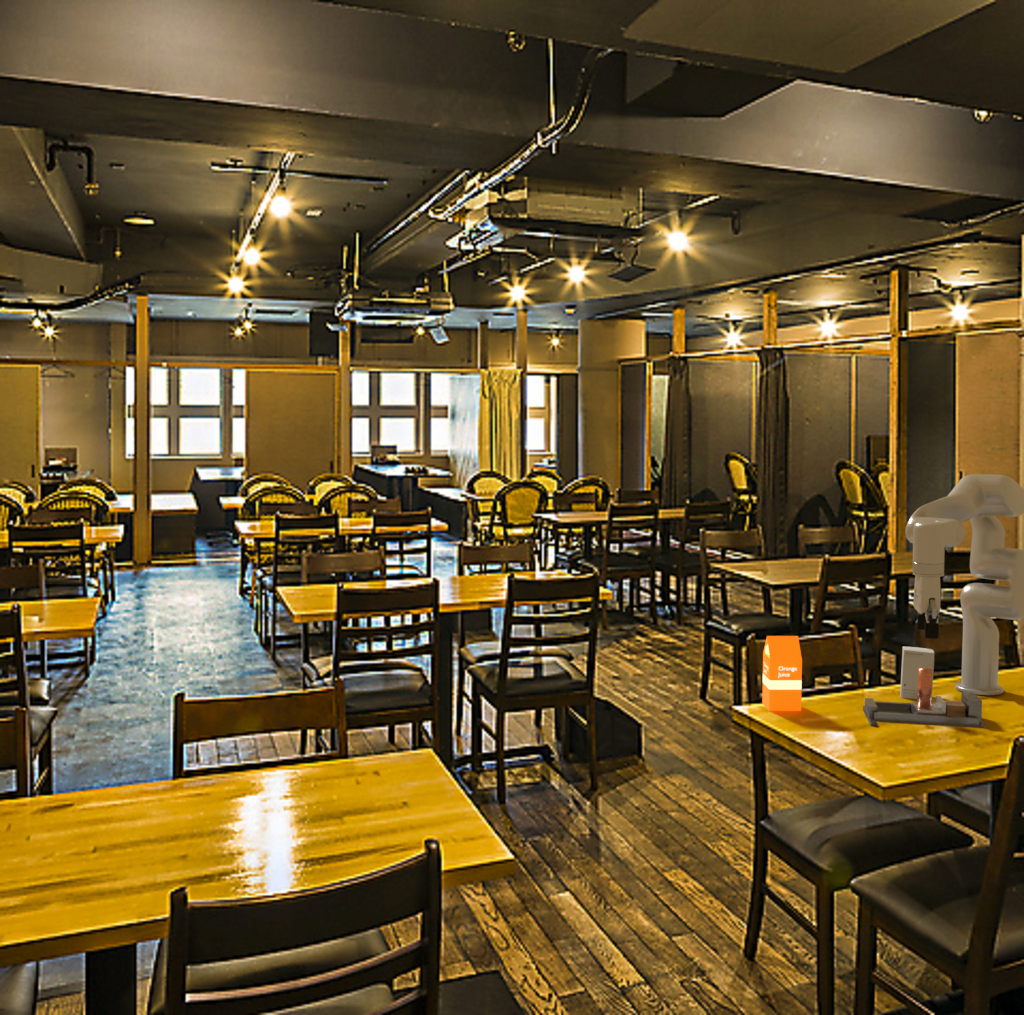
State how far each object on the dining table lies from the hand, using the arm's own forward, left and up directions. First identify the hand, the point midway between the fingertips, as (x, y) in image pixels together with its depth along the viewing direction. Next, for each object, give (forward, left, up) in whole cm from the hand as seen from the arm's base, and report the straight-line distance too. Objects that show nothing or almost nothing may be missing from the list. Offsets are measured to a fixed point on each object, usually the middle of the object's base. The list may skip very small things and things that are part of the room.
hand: (927, 633), depth 241 cm
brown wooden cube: (+1, +7, -22) cm, 23 cm away
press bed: (+1, -1, -23) cm, 23 cm away
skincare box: (-19, +1, -23) cm, 30 cm away
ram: (+1, +1, -22) cm, 22 cm away
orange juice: (-5, -36, -23) cm, 43 cm away
